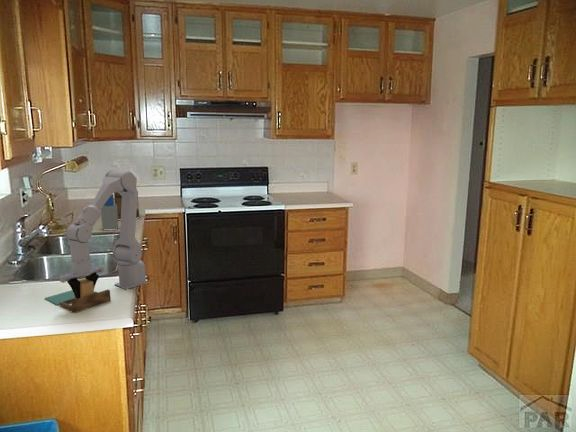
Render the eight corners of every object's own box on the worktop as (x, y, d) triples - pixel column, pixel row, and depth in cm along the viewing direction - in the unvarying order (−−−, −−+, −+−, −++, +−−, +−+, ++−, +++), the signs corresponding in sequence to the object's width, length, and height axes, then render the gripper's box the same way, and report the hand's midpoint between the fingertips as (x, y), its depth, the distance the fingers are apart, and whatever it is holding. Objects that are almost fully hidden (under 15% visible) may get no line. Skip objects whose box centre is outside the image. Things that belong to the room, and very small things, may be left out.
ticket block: (86, 299, 160) (84, 278, 158) (95, 303, 156) (93, 281, 155) (75, 302, 157) (72, 281, 155) (83, 307, 153) (81, 284, 152)
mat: (82, 288, 171) (82, 287, 171) (96, 293, 165) (95, 292, 165) (44, 299, 160) (44, 298, 160) (57, 305, 154) (57, 304, 154)
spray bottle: (102, 228, 269) (99, 186, 264) (118, 226, 272) (115, 185, 267) (102, 231, 261) (98, 188, 256) (118, 230, 264) (115, 187, 259)
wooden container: (143, 218, 298) (141, 185, 293) (122, 221, 287) (120, 187, 282) (132, 215, 307) (129, 183, 303) (111, 218, 297) (108, 185, 292)
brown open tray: (95, 294, 165) (95, 284, 164) (110, 300, 159) (109, 290, 158) (59, 305, 154) (58, 294, 154) (73, 313, 148) (72, 301, 148)
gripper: (65, 266, 145) (69, 305, 148) (107, 256, 157) (110, 293, 159) (54, 262, 150) (59, 300, 152) (96, 252, 161) (99, 288, 164)
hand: (84, 296), depth 156 cm, fingers closed on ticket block, 4 cm apart
